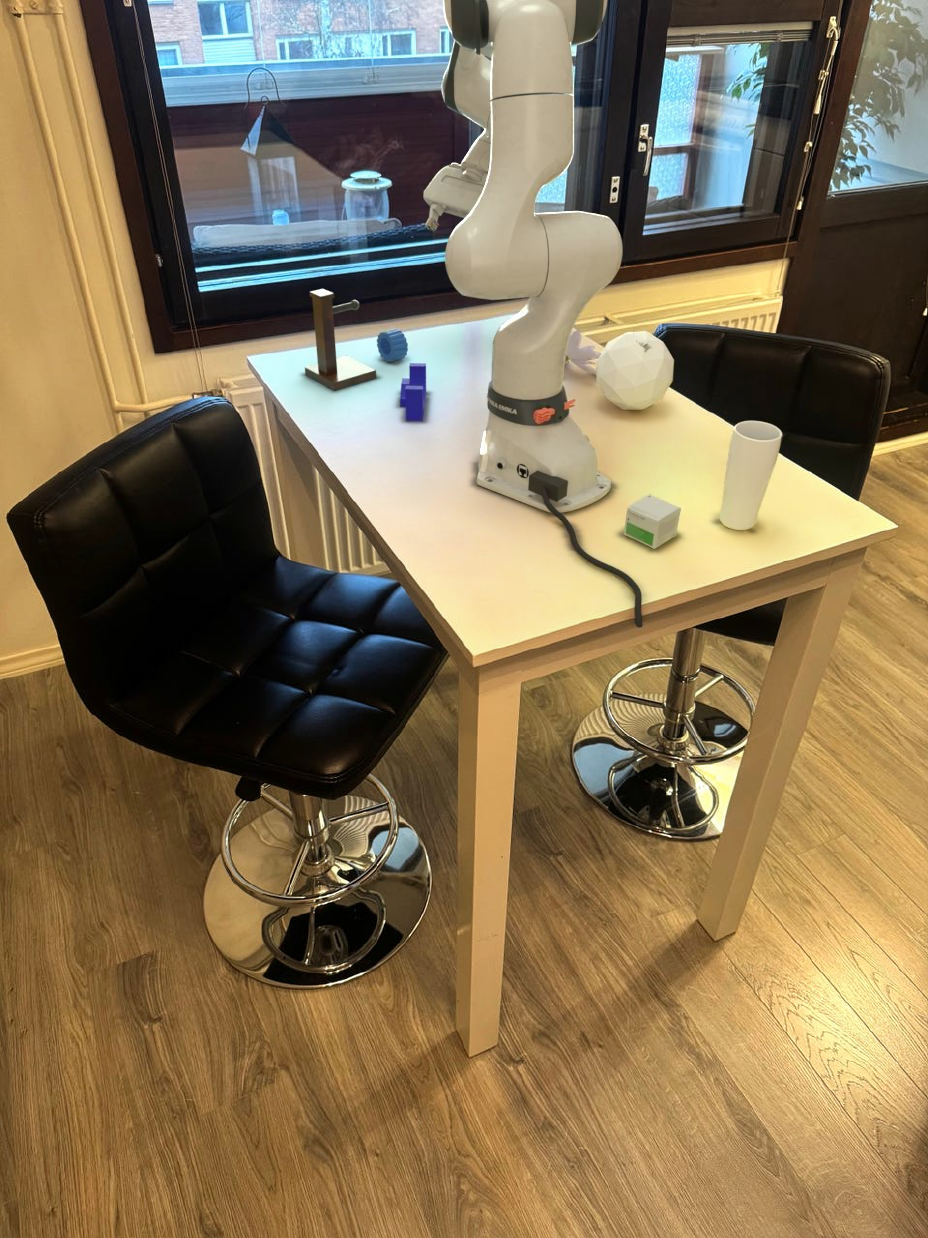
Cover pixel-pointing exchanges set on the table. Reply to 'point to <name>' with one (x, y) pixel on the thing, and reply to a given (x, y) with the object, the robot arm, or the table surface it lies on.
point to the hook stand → (333, 347)
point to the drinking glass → (748, 472)
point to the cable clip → (414, 392)
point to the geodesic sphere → (635, 370)
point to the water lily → (580, 353)
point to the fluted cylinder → (392, 345)
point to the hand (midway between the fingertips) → (445, 233)
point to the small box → (652, 521)
